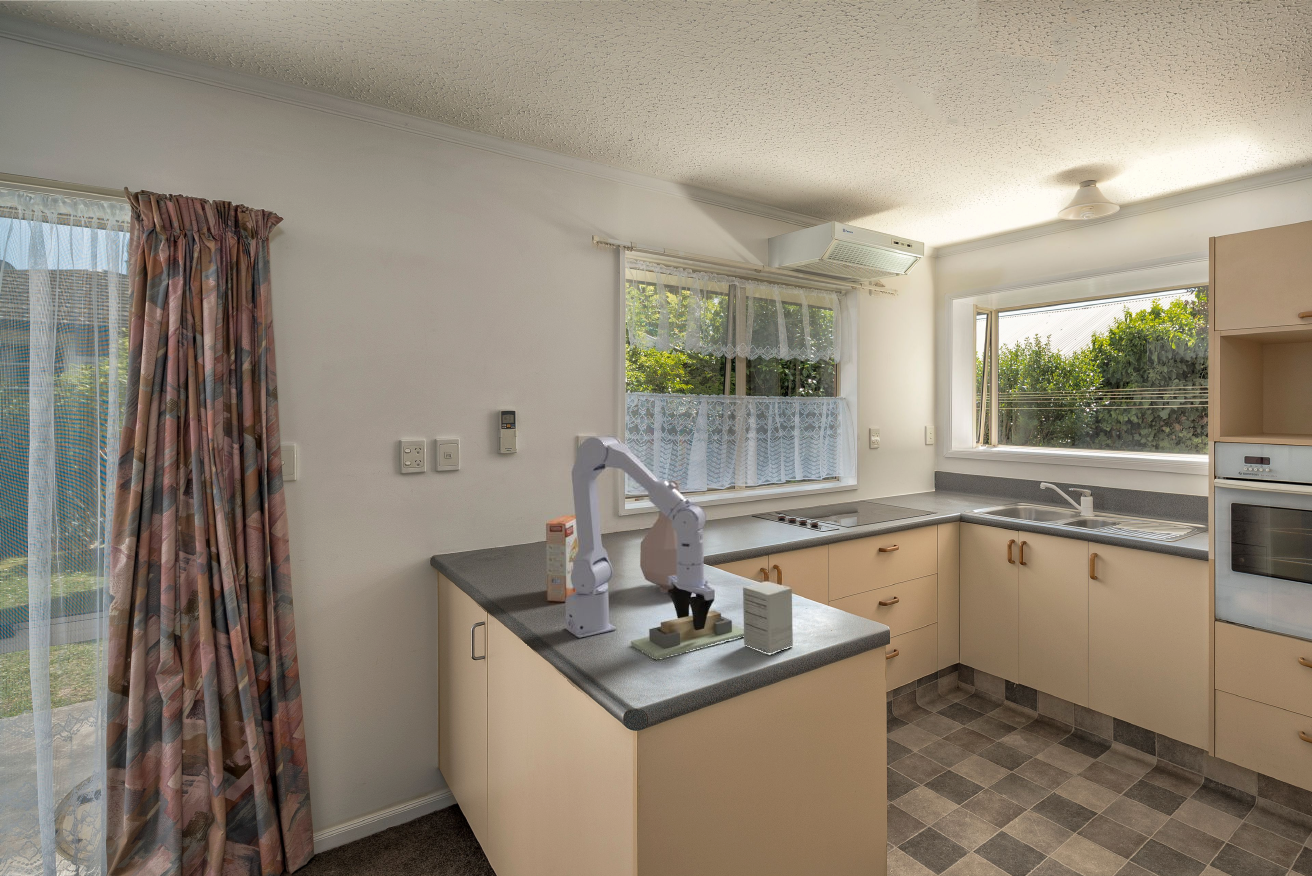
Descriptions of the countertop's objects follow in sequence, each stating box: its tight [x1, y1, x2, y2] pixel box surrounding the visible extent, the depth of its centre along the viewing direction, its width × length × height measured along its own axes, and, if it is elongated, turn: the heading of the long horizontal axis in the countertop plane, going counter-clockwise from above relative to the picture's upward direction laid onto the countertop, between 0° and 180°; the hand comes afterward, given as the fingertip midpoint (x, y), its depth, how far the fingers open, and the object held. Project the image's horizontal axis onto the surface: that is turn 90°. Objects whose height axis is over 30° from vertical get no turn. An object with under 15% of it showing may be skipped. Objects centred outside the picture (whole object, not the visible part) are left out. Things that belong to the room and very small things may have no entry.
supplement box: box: [742, 581, 794, 653], centre depth 131 cm, size 7×7×13 cm
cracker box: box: [545, 514, 578, 603], centre depth 172 cm, size 14×6×21 cm, turn 168°
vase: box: [639, 480, 680, 594], centre depth 174 cm, size 18×18×30 cm
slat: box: [660, 610, 722, 642], centre depth 136 cm, size 14×2×4 cm, turn 122°
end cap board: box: [630, 615, 744, 661], centre depth 136 cm, size 24×10×4 cm, turn 122°
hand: (691, 625), depth 136 cm, fingers open, 5 cm apart
